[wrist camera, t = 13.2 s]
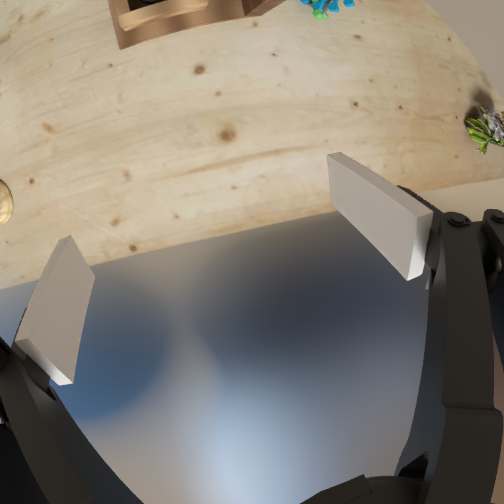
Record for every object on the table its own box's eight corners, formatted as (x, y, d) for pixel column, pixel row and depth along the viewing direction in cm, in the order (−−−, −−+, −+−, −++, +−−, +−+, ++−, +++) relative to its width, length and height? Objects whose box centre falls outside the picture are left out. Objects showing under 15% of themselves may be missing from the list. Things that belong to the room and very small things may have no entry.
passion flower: (465, 105, 49) (508, 112, 42) (466, 149, 54) (508, 157, 46) (463, 102, 42) (514, 110, 34) (465, 152, 47) (514, 162, 39)
